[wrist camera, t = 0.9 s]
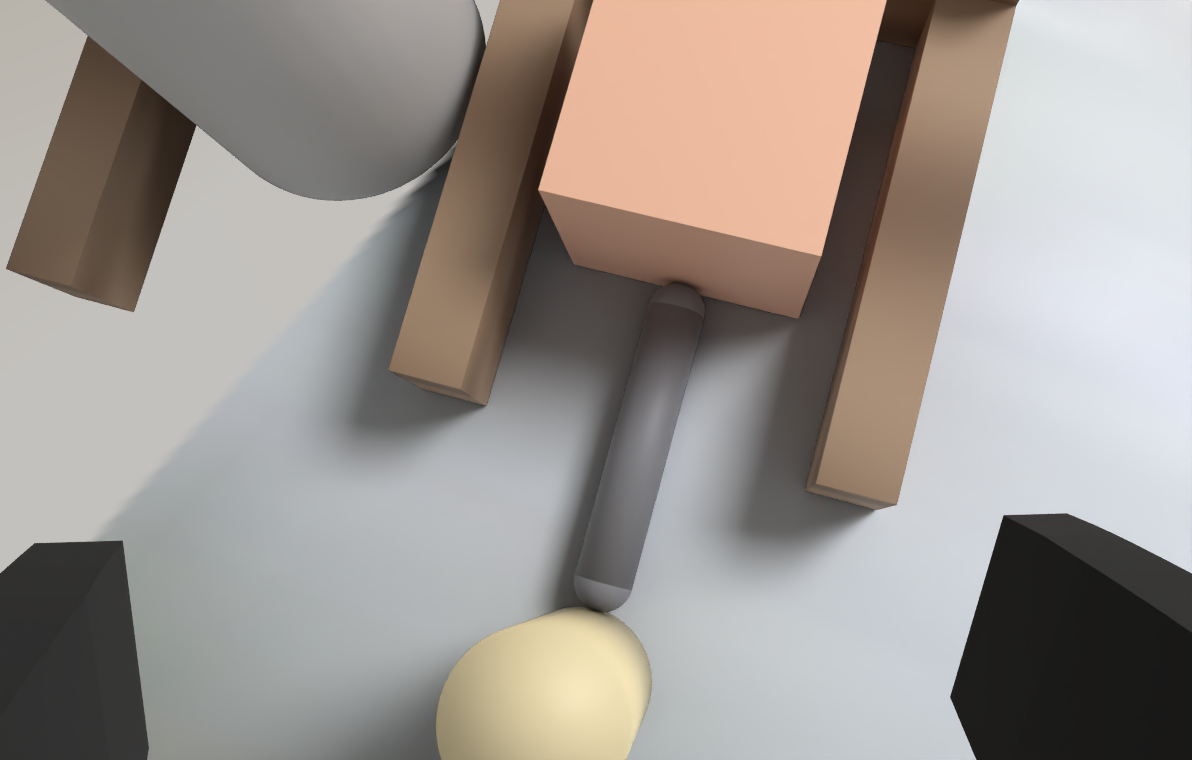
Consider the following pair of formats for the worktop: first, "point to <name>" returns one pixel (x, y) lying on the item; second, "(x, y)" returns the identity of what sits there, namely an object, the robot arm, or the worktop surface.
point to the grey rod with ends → (665, 301)
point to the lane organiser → (514, 208)
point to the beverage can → (305, 80)
